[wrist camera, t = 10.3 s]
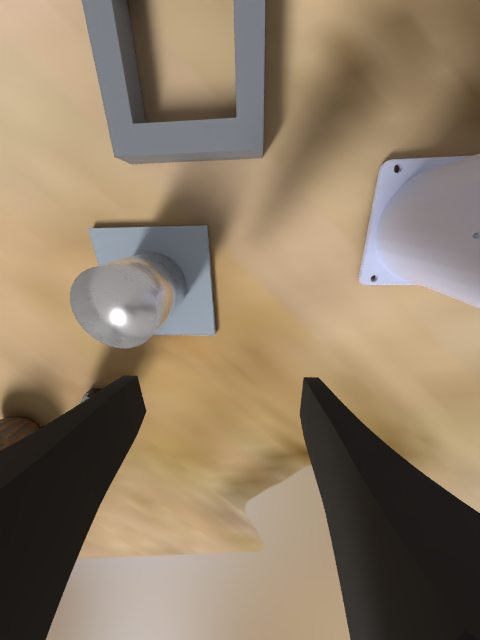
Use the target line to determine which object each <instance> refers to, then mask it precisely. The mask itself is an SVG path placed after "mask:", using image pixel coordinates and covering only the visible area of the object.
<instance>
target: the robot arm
mask: <svg viewBox="0 0 480 640" xmlns="http://www.w3.org/2000/svg"><path fill="white" fill-rule="evenodd" d="M395 165H398V166H399V171H398V172H397V173H395V172H394V167H395ZM373 275H375V279H374V280H372V281H371V277H372V276H373ZM359 282H360V283H362V284H363V285H421V286H424V287H426V288H429V289H431V290H434V291H436V292H439V293H442V294H444V295H447V296H449V297H452V298H454V299H457V300H459V301H462V302H464V303H467V304H469V305H472V306H474V307H477V308H480V153H479V154H476V155H473V156H454V157H432V158H409V159H391V160H388V161H385V162H384V163H383V164H382V165H381V166H380V169H379V173H378V178H377V183H376V189H375V194H374V199H373V204H372V210H371V215H370V220H369V225H368V231H367V236H366V241H365V246H364V252H363V257H362V262H361V267H360V273H359ZM145 413H146V408H145V404H144V401H143V397H142V393H141V389H140V385H139V381H138V377H137V376H123V377H121V378H119V379H117V380H116V381H114V382H113V383H111V384H109V385H108V386H106V387H105V388H103V389H102V390H100V391H99V392H97V393H96V394H94V395H93V396H91V397H90V398H88V399H87V400H85V401H84V402H82V403H80V404H79V405H77V406H76V407H74V408H73V409H71V410H70V411H68V412H66V413H65V414H63V415H61V416H60V417H58V418H57V419H55V420H53V421H52V422H50V423H48V424H47V425H45V426H44V427H42V428H40V429H39V430H37V431H35V432H33V433H32V434H30V435H28V436H26V437H25V438H23V439H21V440H19V441H17V442H15V443H14V444H12V445H10V446H8V447H6V448H4V449H3V450H1V451H0V640H46V637H47V634H48V632H49V629H50V626H51V623H52V621H53V618H54V615H55V613H56V610H57V608H58V605H59V602H60V600H61V597H62V595H63V592H64V590H65V587H66V584H67V582H68V579H69V577H70V574H71V572H72V569H73V567H74V564H75V562H76V560H77V557H78V555H79V552H80V550H81V547H82V545H83V543H84V540H85V538H86V535H87V533H88V531H89V529H90V526H91V524H92V522H93V520H94V517H95V515H96V513H97V510H98V508H99V506H100V504H101V502H102V500H103V498H104V496H105V494H106V492H107V490H108V488H109V486H110V484H111V483H112V481H113V479H114V477H115V475H116V473H117V471H118V470H119V468H120V466H121V464H122V462H123V460H124V459H125V457H126V455H127V453H128V451H129V449H130V447H131V445H132V444H133V442H134V440H135V438H136V436H137V434H138V431H139V429H140V427H141V424H142V421H143V419H144V416H145ZM300 418H301V424H302V430H303V435H304V440H305V443H306V447H307V450H308V454H309V457H310V460H311V464H312V467H313V470H314V474H315V477H316V480H317V484H318V487H319V491H320V494H321V497H322V501H323V505H324V509H325V513H326V517H327V522H328V527H329V531H330V536H331V541H332V546H333V550H334V555H335V560H336V565H337V570H338V575H339V580H340V586H341V591H342V595H343V601H344V606H345V612H346V617H347V623H348V628H349V633H350V639H351V640H480V513H479V512H477V511H476V510H474V509H473V508H471V507H470V506H468V505H467V504H465V503H464V502H462V501H461V500H459V499H458V498H457V497H455V496H454V495H452V494H451V493H450V492H448V491H447V490H445V489H444V488H443V487H441V486H440V485H438V484H437V483H436V482H434V481H433V480H431V479H430V478H429V477H427V476H426V475H425V474H423V473H422V472H421V471H419V470H418V469H417V468H415V467H414V466H413V465H411V464H410V463H409V462H408V461H406V460H405V459H404V458H403V457H401V456H400V455H399V454H398V453H396V452H395V451H394V450H393V449H392V448H390V447H389V446H388V445H387V444H386V443H384V442H383V441H382V440H381V439H380V438H379V437H378V436H376V435H375V434H374V433H373V432H372V431H371V430H370V429H369V428H368V427H366V426H365V425H364V424H363V423H362V422H361V421H360V420H359V419H358V418H357V417H356V416H355V415H354V414H353V413H352V412H351V411H350V410H349V409H348V408H347V407H346V406H345V405H344V404H343V403H342V402H341V401H340V400H339V399H338V398H337V397H336V396H335V395H334V394H333V392H332V391H331V390H330V389H329V388H328V387H327V386H326V385H325V384H324V383H323V382H322V381H321V380H320V379H319V378H311V377H304V380H303V389H302V398H301V408H300Z"/></svg>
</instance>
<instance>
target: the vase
mask: <svg viewBox="0 0 480 640" xmlns="http://www.w3.org/2000/svg"><path fill="white" fill-rule="evenodd" d="M39 429H40V428H39V427H38V425H36V424H35V423H34V422H32V421H30V420H28V419H25V418H21V417H14V418H5V419H1V420H0V451H1V450H3V449H4V448H6V447H8V446H10V445H12V444H14V443H15V442H17V441H19V440H21V439H23V438H25V437H26V436H28V435H30V434H32V433H33V432H35V431H37V430H39Z"/></svg>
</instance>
